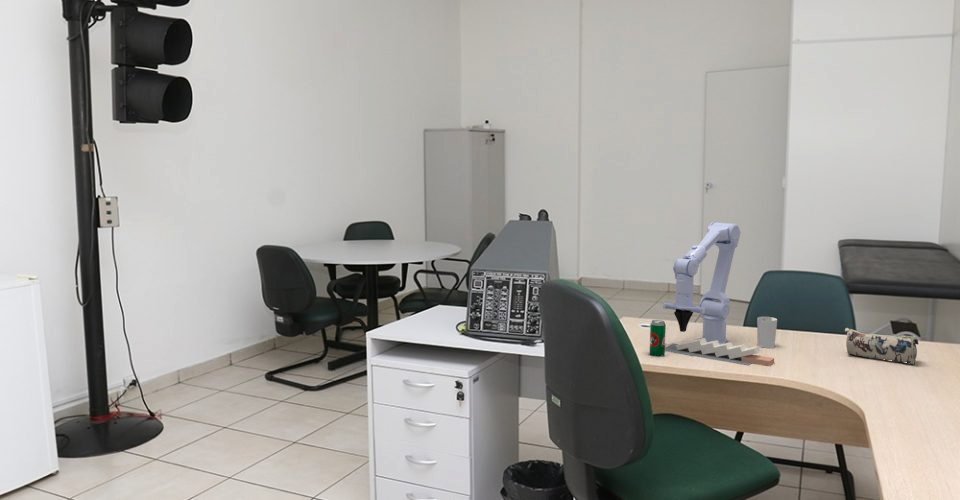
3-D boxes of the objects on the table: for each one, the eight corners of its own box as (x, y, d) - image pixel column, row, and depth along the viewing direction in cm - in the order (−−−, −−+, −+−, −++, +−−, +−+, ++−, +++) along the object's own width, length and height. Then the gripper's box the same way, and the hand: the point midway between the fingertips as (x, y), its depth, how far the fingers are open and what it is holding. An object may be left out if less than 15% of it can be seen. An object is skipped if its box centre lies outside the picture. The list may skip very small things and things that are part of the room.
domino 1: (675, 345, 254) (699, 340, 249) (681, 342, 258) (705, 338, 253) (677, 350, 254) (700, 345, 249) (682, 347, 258) (706, 342, 252)
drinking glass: (755, 347, 260) (757, 319, 259) (756, 342, 267) (757, 316, 265) (775, 349, 258) (777, 321, 257) (775, 344, 264) (777, 317, 263)
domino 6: (741, 356, 240) (769, 361, 235) (746, 353, 244) (774, 358, 239) (741, 361, 240) (769, 366, 235) (746, 358, 244) (774, 362, 239)
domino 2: (688, 347, 252) (712, 342, 246) (693, 345, 255) (717, 340, 250) (689, 352, 251) (713, 347, 246) (695, 349, 255) (719, 344, 250)
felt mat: (673, 344, 264) (673, 343, 264) (760, 358, 245) (760, 357, 245) (659, 351, 255) (659, 350, 255) (748, 366, 236) (748, 365, 236)
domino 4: (714, 352, 246) (740, 346, 240) (720, 349, 250) (745, 343, 244) (716, 357, 246) (741, 351, 240) (721, 353, 250) (746, 348, 244)
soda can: (664, 358, 246) (666, 323, 244) (649, 357, 247) (650, 322, 245) (664, 354, 251) (665, 320, 249) (649, 353, 252) (650, 319, 250)
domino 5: (728, 354, 243) (754, 348, 237) (733, 351, 247) (759, 345, 241) (729, 359, 243) (755, 353, 237) (734, 356, 247) (760, 350, 241)
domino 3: (700, 350, 249) (725, 345, 243) (706, 347, 253) (731, 342, 247) (702, 354, 249) (727, 349, 243) (707, 351, 252) (732, 346, 247)
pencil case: (917, 361, 242) (920, 333, 241) (913, 367, 236) (916, 338, 234) (846, 351, 256) (847, 323, 255) (840, 356, 249) (842, 328, 248)
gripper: (660, 292, 254) (658, 330, 256) (700, 297, 246) (698, 336, 247) (668, 289, 260) (667, 326, 262) (708, 294, 251) (706, 332, 253)
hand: (683, 331), depth 255 cm, fingers closed
